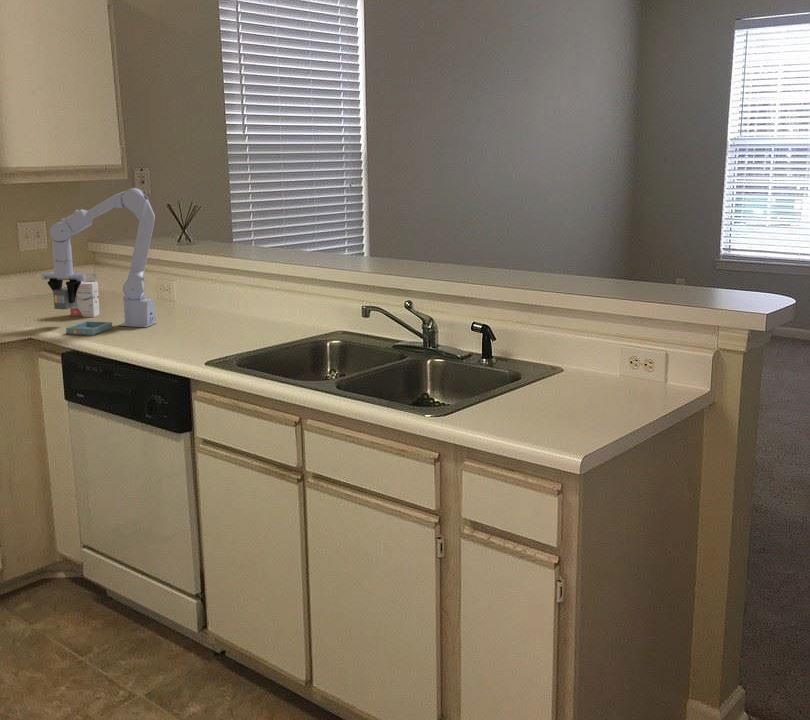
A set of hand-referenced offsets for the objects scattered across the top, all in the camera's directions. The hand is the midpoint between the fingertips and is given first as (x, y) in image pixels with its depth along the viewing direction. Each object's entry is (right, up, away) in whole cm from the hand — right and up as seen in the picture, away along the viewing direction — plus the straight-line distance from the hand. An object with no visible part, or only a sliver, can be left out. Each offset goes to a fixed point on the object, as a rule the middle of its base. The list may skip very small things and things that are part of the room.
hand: (65, 302), depth 294 cm
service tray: (+10, -9, -5) cm, 14 cm away
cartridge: (0, -2, 0) cm, 2 cm away
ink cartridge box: (-1, -4, +20) cm, 20 cm away
